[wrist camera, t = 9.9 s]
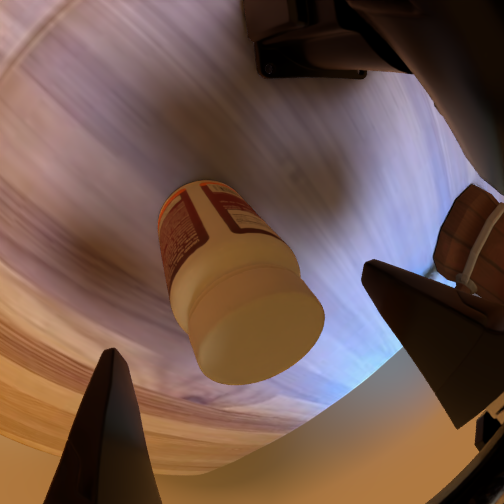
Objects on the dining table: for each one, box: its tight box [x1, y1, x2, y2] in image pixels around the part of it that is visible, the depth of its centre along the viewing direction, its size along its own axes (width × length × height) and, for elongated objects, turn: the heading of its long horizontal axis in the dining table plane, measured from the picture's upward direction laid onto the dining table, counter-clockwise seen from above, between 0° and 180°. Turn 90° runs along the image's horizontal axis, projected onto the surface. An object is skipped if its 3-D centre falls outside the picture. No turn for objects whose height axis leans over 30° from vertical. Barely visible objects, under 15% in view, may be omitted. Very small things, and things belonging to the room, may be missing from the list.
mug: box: [434, 185, 504, 305], centre depth 20 cm, size 16×12×15 cm
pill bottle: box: [158, 180, 325, 385], centre depth 11 cm, size 5×5×8 cm
